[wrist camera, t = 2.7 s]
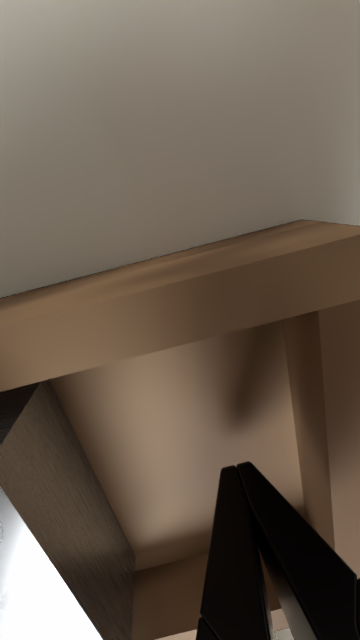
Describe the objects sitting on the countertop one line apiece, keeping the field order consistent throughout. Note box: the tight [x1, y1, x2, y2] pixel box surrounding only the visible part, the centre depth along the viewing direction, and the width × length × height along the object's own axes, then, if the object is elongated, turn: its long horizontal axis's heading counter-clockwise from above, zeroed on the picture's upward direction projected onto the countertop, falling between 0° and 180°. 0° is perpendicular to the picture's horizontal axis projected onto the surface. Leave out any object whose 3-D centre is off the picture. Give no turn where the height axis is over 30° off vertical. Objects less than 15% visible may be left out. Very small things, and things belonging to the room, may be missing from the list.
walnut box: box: [0, 220, 360, 640], centre depth 9 cm, size 18×12×3 cm, turn 104°
